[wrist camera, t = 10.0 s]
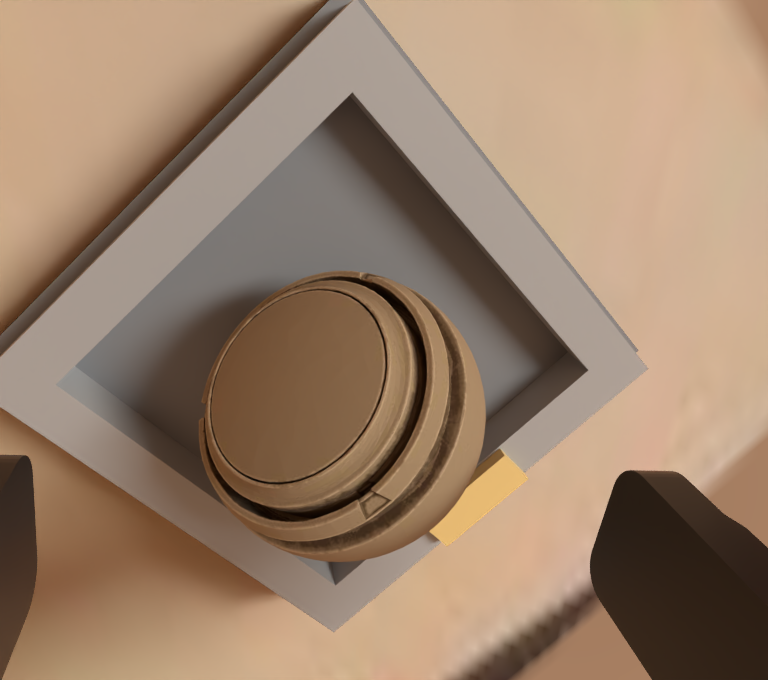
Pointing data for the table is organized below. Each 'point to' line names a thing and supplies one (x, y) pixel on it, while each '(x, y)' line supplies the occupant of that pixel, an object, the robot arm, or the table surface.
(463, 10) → the table surface
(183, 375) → the grey square tray
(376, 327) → the door knob
